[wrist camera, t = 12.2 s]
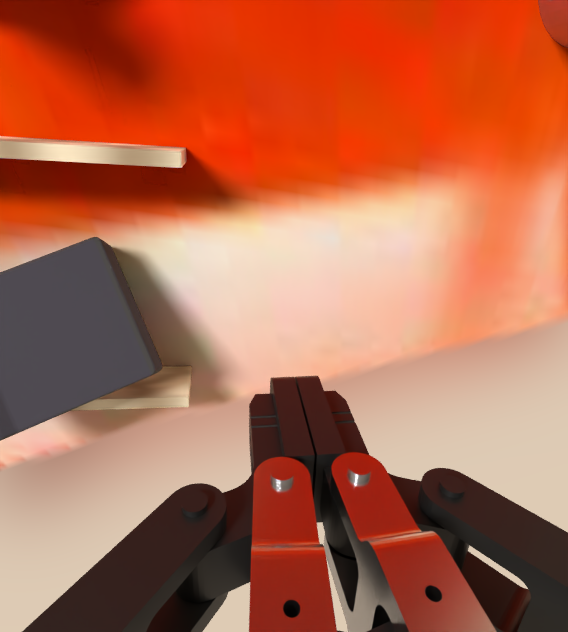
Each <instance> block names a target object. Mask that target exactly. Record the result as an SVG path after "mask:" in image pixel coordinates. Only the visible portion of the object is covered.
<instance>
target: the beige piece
mask: <svg viewBox="0 0 568 632" xmlns="http://www.w3.org/2000/svg"><path fill="white" fill-rule="evenodd" d="M0 158H9V159H28V160H46V161H64V162H83V163H101V164H119V165H138V166H156V167H174V168H182V167H183V165H184V164H185V163H186V148H182V147H166V146H150V145H134V144H118V143H101V142H85V141H69V140H53V139H37V138H21V137H5V136H0ZM191 378H192V366H162V369H161V371H159V372H158V373H156V374H154V375H152V376H150V377H147V378H145V379H143V380H140V381H138V382H136V383H133V384H131V385H129V386H126V387H124V388H122V389H119V390H117V391H115V392H112V393H110V394H108V395H105V396H103V397H101V398H98V399H96V400H94V401H91V402H89V403H87V404H84V405H82V406H80V407H77V408H75V409H73V410H70V411H80V410H111V409H142V408H173V407H189V399H190V389H191Z"/></svg>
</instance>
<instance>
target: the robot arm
mask: <svg viewBox="0 0 568 632" xmlns="http://www.w3.org/2000/svg"><path fill="white" fill-rule="evenodd" d="M538 3H539V9H540V15H541V18H542V21H543V24H544V26H545V28H546V30H547V31H548V33H549V34H550V36H551V37H552V38H553V39H554V40H555V41H556V42H558V43H559V44H560V45H562V46H564V47H566V48H568V0H538ZM249 408H250V409H249V413H250V414H249V417H250V418H249V424H250V425H249V427H250V428H249V433H250V456H251V472H252V474H251V476H250V477H249V479H248V480H247V481H246V482H245V483H244V484H242V485H241V486H239V487H237V488H235V489H233V490H230V491H227V492H224V493H222V492H221V491H220V490H219V489H217V488H216V487H214V486H211V485H208V484H191V485H187V486H185V487H182V488H180V489H179V490H177V491H175V492H174V493H173V494H172V495H171V496H170V497H169V498H167V499H166V500H165V501H164V502H163V503H162V504H161V505H160V506H159V507H158V508H157V509H156V510H154V511H153V512H152V513H151V514H150V515H149V516H148V517H147V518H146V519H145V520H143V521H142V522H141V523H140V524H139V525H138V526H137V527H136V528H135V529H134V530H133V531H132V532H130V533H129V534H128V535H127V536H126V537H125V538H124V539H123V540H122V541H121V542H119V543H118V544H117V545H116V546H115V547H114V548H113V549H112V550H111V551H110V552H109V553H107V554H106V555H105V556H104V557H103V558H102V559H101V560H100V561H99V562H98V563H97V564H95V565H94V566H93V567H92V568H91V569H90V570H89V571H88V572H87V573H86V574H85V575H83V576H82V577H81V578H80V579H79V580H78V581H77V582H76V583H75V584H74V585H73V586H72V587H70V588H69V589H68V590H67V591H66V592H65V593H64V594H63V595H62V596H61V597H60V598H58V599H57V600H56V601H55V602H54V603H53V604H52V605H51V606H50V607H49V608H48V609H46V610H45V611H44V612H43V613H42V614H41V615H40V616H39V617H38V618H37V619H36V620H34V621H33V622H32V623H31V624H30V625H29V626H28V627H27V628H26V629H25V630H24V631H23V632H202V631H203V630H204V629H205V627H206V626H207V624H208V623H209V622H210V620H211V619H212V618H213V616H214V615H215V613H216V612H217V611H218V609H219V608H220V607H221V605H222V604H223V602H224V601H225V599H226V597H227V594H228V592H229V591H231V590H233V589H235V588H237V587H240V586H242V585H244V584H246V583H249V582H250V615H249V632H342V631H337V629H336V623H335V615H334V608H333V601H332V596H331V588H330V581H329V574H328V567H327V561H328V564H329V567H330V570H331V573H332V577H333V580H334V583H335V587H336V590H337V593H338V596H339V599H340V603H341V606H342V609H343V612H344V616H345V619H346V623H347V628H348V632H568V533H567V532H566V531H564V530H562V529H560V528H558V527H557V526H555V525H553V524H551V523H550V522H548V521H546V520H544V519H542V518H540V517H539V516H537V515H535V514H534V513H532V512H530V511H528V510H526V509H525V508H523V507H521V506H519V505H518V504H516V503H514V502H512V501H510V500H508V499H507V498H505V497H503V496H501V495H500V494H498V493H496V492H494V491H493V490H491V489H489V488H487V487H485V486H484V485H482V484H480V483H478V482H476V481H475V480H473V479H471V478H469V477H468V476H466V475H464V474H462V473H460V472H458V471H455V470H451V469H446V468H435V469H432V470H429V471H427V472H426V473H425V474H424V476H423V478H422V481H416V480H410V479H405V478H401V477H397V476H393V475H391V474H389V473H387V471H386V469H385V468H384V466H383V465H382V464H381V463H380V462H379V461H378V460H377V459H375V458H373V457H372V456H369V453H368V451H367V449H366V446H365V444H364V442H363V439H362V437H361V435H360V432H359V430H358V428H357V425H356V423H355V422H354V418H353V416H352V414H351V412H350V409H349V406H348V404H347V402H346V400H345V399H344V398H343V397H342V396H341V395H339V394H338V393H337V392H336V391H324V390H323V387H322V385H321V382H320V379H319V377H318V376H302V377H295V378H294V377H278V378H271V381H270V394H255V396H254V398H253V399H252V401H251V403H250V405H249ZM317 522H323V526H324V530H325V538H324V546H323V545H322V544H320V543H319V538H318V530H317ZM469 545H470V546H472V547H473V548H475V549H476V550H478V551H479V552H481V553H482V554H484V555H485V556H487V557H488V558H490V559H491V560H493V561H494V562H496V563H497V564H499V565H500V566H502V567H503V568H505V569H506V570H508V571H509V572H511V573H513V574H514V575H515V576H517V577H518V578H519V579H521V580H522V581H523V582H524V583H525V585H526V586H527V587H528V589H529V590H528V589H525V588H522V587H520V586H519V585H517V584H516V583H514V582H513V581H511V580H510V579H508V578H507V577H505V576H503V575H502V574H501V573H499V572H498V571H496V570H495V569H493V568H492V567H490V566H489V565H487V564H486V563H484V562H483V561H482V560H480V559H479V558H477V557H476V556H474V555H473V554H471V553H470V552H468V548H469ZM326 557H327V560H326Z"/></svg>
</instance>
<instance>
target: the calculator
mask: <svg viewBox="0 0 568 632" xmlns="http://www.w3.org/2000/svg"><path fill="white" fill-rule="evenodd" d="M161 369H162V363H161V361H160V358H159V356H158V354H157V351H156V349H155V347H154V344H153V342H152V340H151V337H150V335H149V333H148V330H147V328H146V326H145V324H144V321H143V319H142V317H141V314H140V312H139V310H138V307H137V305H136V303H135V300H134V298H133V296H132V293H131V291H130V289H129V286H128V284H127V282H126V279H125V277H124V275H123V272H122V270H121V268H120V265H119V263H118V261H117V258H116V256H115V254H114V252H113V249H112V247H111V246H110V245H108V244H107V243H106V242H104V241H103V240H101V239H100V238H98V237H93V238H90V239H87V240H84V241H82V242H79V243H77V244H74V245H71V246H69V247H66V248H63V249H61V250H58V251H56V252H53V253H50V254H48V255H45V256H43V257H40V258H37V259H35V260H32V261H29V262H27V263H24V264H22V265H19V266H16V267H14V268H11V269H8V270H6V271H3V272H1V273H0V441H1V440H3V439H5V438H8V437H10V436H12V435H14V434H17V433H19V432H21V431H24V430H26V429H28V428H31V427H33V426H35V425H38V424H40V423H42V422H45V421H47V420H49V419H52V418H54V417H56V416H59V415H61V414H63V413H66V412H68V411H70V410H73V409H75V408H77V407H80V406H82V405H84V404H87V403H89V402H91V401H94V400H96V399H98V398H101V397H103V396H105V395H108V394H110V393H112V392H115V391H117V390H119V389H122V388H124V387H126V386H129V385H131V384H133V383H136V382H138V381H140V380H143V379H145V378H147V377H150V376H152V375H154V374H156V373H158V372H159V371H161Z"/></svg>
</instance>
